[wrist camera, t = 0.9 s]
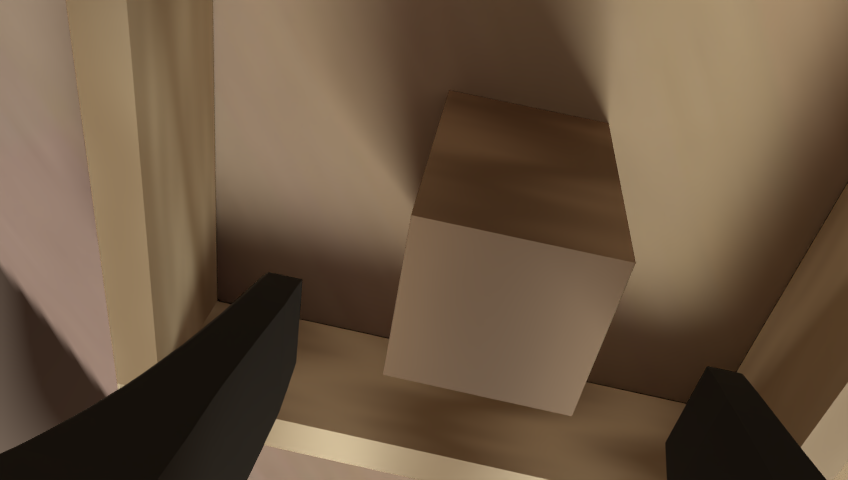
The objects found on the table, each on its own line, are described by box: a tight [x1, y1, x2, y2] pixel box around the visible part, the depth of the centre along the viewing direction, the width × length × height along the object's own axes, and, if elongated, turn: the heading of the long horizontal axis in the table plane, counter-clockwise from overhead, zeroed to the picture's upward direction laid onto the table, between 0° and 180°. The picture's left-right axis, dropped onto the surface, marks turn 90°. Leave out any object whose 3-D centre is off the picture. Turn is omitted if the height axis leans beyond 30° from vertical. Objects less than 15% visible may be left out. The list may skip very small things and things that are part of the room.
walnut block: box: [383, 90, 636, 416], centre depth 16 cm, size 4×4×6 cm
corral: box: [66, 0, 848, 480], centre depth 17 cm, size 18×14×4 cm
